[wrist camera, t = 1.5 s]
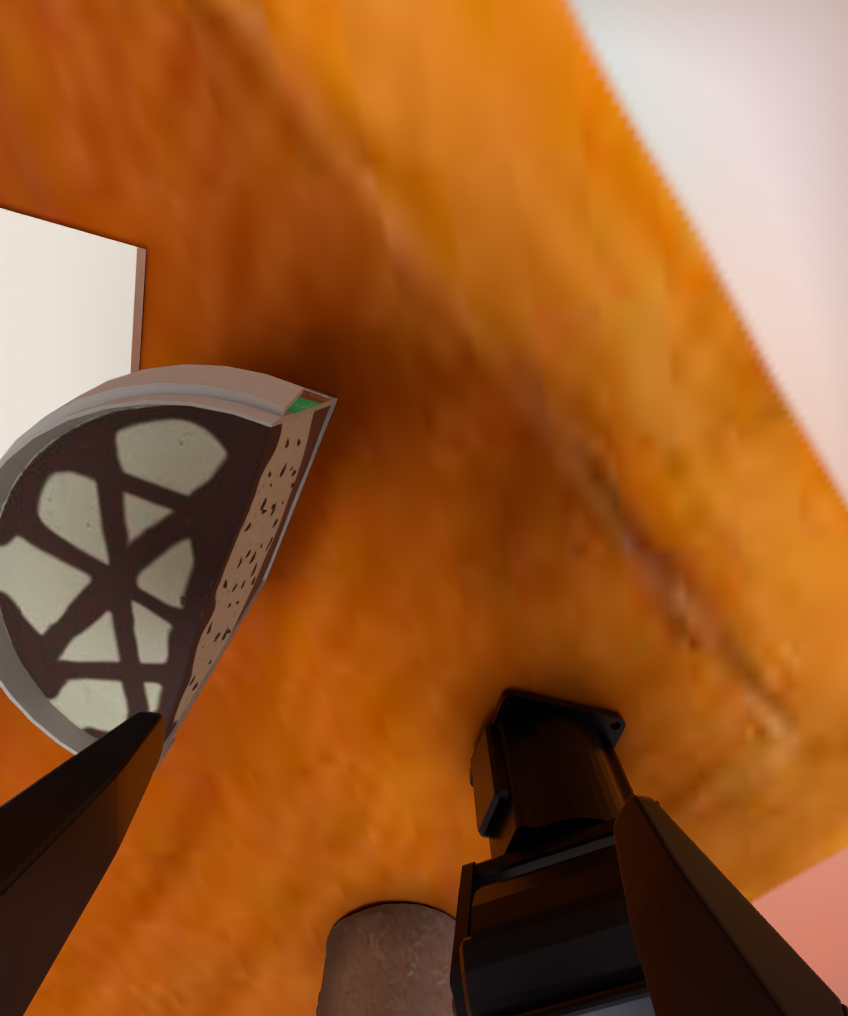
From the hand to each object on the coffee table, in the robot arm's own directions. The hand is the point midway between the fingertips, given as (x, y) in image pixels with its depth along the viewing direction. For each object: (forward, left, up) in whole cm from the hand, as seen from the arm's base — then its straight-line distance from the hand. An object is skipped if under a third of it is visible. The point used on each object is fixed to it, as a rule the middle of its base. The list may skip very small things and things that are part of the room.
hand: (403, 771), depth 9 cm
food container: (+8, 0, -13) cm, 16 cm away
